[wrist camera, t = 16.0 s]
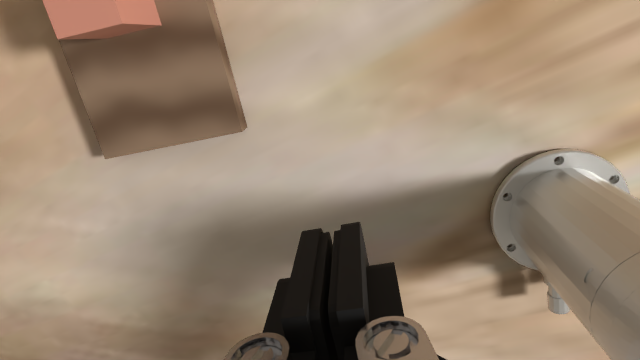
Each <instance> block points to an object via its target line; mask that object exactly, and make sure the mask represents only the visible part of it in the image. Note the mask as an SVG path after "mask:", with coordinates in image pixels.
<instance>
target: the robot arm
mask: <svg viewBox="0 0 640 360" xmlns="http://www.w3.org/2000/svg"><path fill="white" fill-rule="evenodd" d="M556 157H557V159H556V160H554V159H555V158H556ZM505 193H507V194H506V195H505V196H503V195H504V194H505ZM490 223H491V227H492V232H493V234H494V236H495V239H496V241H497V243H498V244H499V245H500V247H501V248H502V250H503V251H504V252H505V253H506V254H507V255H508V256H509V257H510V258H511V259H513V260H514V261H516V262H517V263H518V264H521V265H523V266H525V267H527V268H530V269H534V270H539V271H540V272H541V274H542V275H543V280H544V283H546V284H547V285H548V292H547V298H548V309H549V310H550V311H551V312H553V313H556V314H566V313H568V312H569V311H570V309H571V310H572V312H573V313H574V314H575V315H576V317H577V318H578V319H579V320H580V322H581V323H582V324H583V325H584V327H585V328H586V329H587V330H588V332H589V333H590V334H591V335H592V337H593V338H594V339H595V340H596V342H597V343H598V344H599V345H600V347H601V348H602V349H603V350H604V351H605V353H606V354H607V355H608V356H609V358H610V359H611V360H640V200H639V199H638V198H636V197H634V196H632V195H631V194H630V191H629V188H628V185H627V182H626V180H625V178H624V177H623V175H622V174H621V172H620V171H619V170H618V169H617V168H616V167H615V166H614V165H613V164H612V163H610V162H608V161H607V160H605V159H603V158H602V157H600V156H598V155H595V154H593V153H591V152H587V151H583V150H578V149H559V150H552V151H548V152H545V153H541V154H538V155H536V156H534V157H532V158H530V159H528V160H526V161H524V162H523V163H522V164H520V165H519V166H517V167H516V168H515V169H514V170H513V171H512V172H511V173H510V174H509V175H508V176H507V177H506V178H505V179H504V180H503V182H502V183H501V185H500V186H499V188H498V189H497V192H496V194H495V196H494V198H493V202H492V206H491V210H490ZM509 244H510V245H509ZM224 360H446V359H444V358H442V357H440V356H438V355H437V354H436V352H435V350H434V348H433V346H432V344H431V342H430V340H429V338H428V336H427V334H426V332H425V330H424V329H423V328H422V326H421V325H420V324H419V323H417V322H416V321H414V320H412V319H409V318H406V317H404V313H403V308H402V302H401V297H400V292H399V286H398V281H397V276H396V270H395V265H394V262H392V263H385V264H379V265H372V266H369V263H368V258H367V253H366V248H365V243H364V238H363V233H362V228H361V224H360V222H356V223H350V224H344V225H341V230H338V231H334V241H333V245H332V240H331V236H330V233H329V232H326V233H323V231H322V229H321V228H320V229H313V230H307V231H302V233H301V237H300V241H299V245H298V249H297V253H296V257H295V261H294V265H293V269H292V273H291V277H290V278H285V279H280V280H279V281H278V283H277V286H276V290H275V293H274V296H273V300H272V303H271V306H270V310H269V313H268V316H267V320H266V323H265V327H264V330H263V333H259V334H255V335H252V336H250V337H247V338H245V339H244V340H242V341H240V342H239V343H237V344H236V345H235V346H234V347H233V348H231V350H230V351H229V352H228V354H227V355H226V356H225V358H224Z"/></svg>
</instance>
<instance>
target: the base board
mask: <svg viewBox="0 0 640 360" xmlns="http://www.w3.org/2000/svg"><path fill="white" fill-rule="evenodd" d="M154 2H155V5H156V8H157V12H158V15H159V18H160V21H161V26H157V27H153V28H149V29H145V30H141V31H136V32H132V33H128V34H124V35H120V36H116V37H112V38H107V39H59V42H60V44H61V47H62V49H63V52H64V54H65V57H66V60H67V62H68V65H69V67H70V70H71V73H72V75H73V78H74V80H75V83H76V85H77V88H78V91H79V93H80V96H81V98H82V101H83V103H84V106H85V109H86V111H87V114H88V116H89V119H90V121H91V124H92V127H93V129H94V132H95V134H96V137H97V139H98V142H99V145H100V147H101V150H102V152H103V155H104V157H105V159H109V158H114V157H118V156H123V155H128V154H133V153H138V152H143V151H148V150H153V149H158V148H163V147H168V146H173V145H178V144H183V143H188V142H193V141H198V140H203V139H208V138H213V137H218V136H223V135H228V134H233V133H238V132H242V131H243V130H245V129H246V128H247V124H246V121H245V117H244V113H243V110H242V106H241V102H240V99H239V95H238V91H237V88H236V84H235V80H234V77H233V73H232V69H231V66H230V62H229V58H228V55H227V51H226V47H225V43H224V40H223V36H222V32H221V29H220V25H219V21H218V18H217V14H216V10H215V7H214V3H213V0H154Z"/></svg>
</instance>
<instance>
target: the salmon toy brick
mask: <svg viewBox="0 0 640 360" xmlns="http://www.w3.org/2000/svg"><path fill="white" fill-rule="evenodd" d="M43 3H44V6H45V8H46V11H47V13H48V16H49V18H50V21H51V24H52V26H53V29H54V31H55V34H56V37H57V39H107V38H112V37H116V36H120V35H124V34H128V33H132V32H136V31H141V30H145V29H149V28H153V27H157V26H161V21H160V18H159V15H158V12H157V8H156V5H155V2H154V0H43Z"/></svg>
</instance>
